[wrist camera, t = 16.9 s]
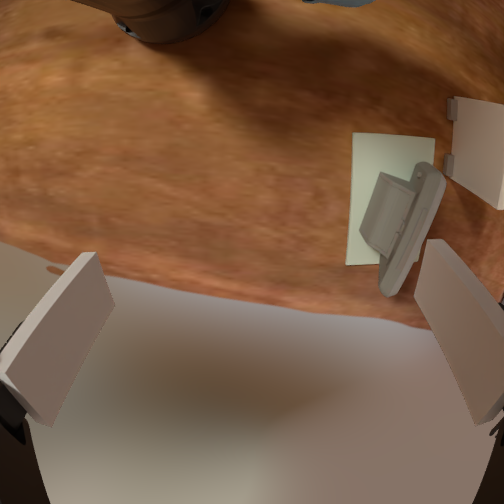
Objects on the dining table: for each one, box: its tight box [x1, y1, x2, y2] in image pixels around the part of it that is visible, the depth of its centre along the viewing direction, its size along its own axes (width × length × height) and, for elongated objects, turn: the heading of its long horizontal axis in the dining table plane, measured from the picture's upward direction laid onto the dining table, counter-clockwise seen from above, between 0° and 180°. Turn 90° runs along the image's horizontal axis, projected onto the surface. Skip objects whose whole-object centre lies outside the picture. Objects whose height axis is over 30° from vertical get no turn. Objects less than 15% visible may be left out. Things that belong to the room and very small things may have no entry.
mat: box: [345, 132, 435, 265], centre depth 39 cm, size 19×12×1 cm, turn 4°
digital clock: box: [359, 162, 447, 297], centre depth 34 cm, size 16×9×11 cm, turn 156°
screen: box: [443, 96, 504, 210], centre depth 28 cm, size 12×4×12 cm, turn 4°
